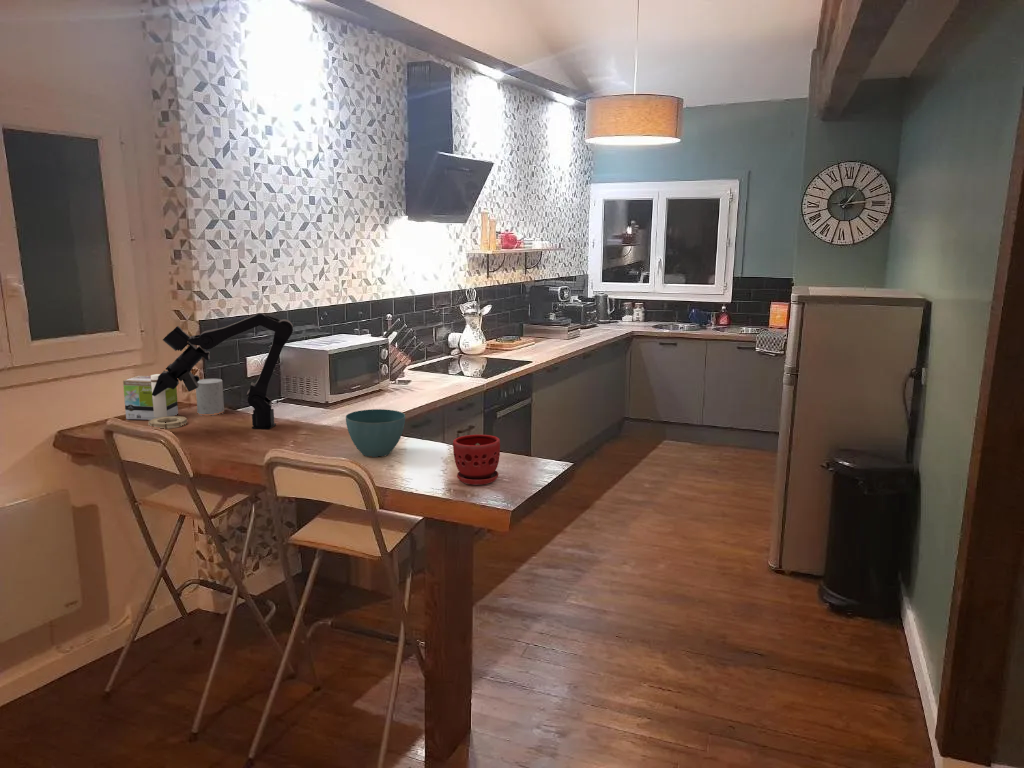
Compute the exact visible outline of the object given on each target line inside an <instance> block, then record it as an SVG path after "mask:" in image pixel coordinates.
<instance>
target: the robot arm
mask: <svg viewBox="0 0 1024 768" xmlns="http://www.w3.org/2000/svg"><path fill="white" fill-rule="evenodd" d="M259 326H260V327H264V328H265V329H268V330H270V331H272V332H274V335H273V341H272V344H271V346H270V349H269V351H268V354H267V356H266V359H265V361H264V364H263V366H262V369H261V372H260V374H259V377H258V379H257V381H255V382H253V381H251V383H250V386H249V389H248V390H247V391H246V392H247V393H246V397H247V403H248V405H249V406H250V407H252V408H253V410H252V414H251V421H252V422H251V425H252V426H251V429H252V430H253V429H255V430H256V429H259V430H260V429H261V430H270V429H272V428H274V427H275V426H277V423H275V413H274V411H275V410H274V408H272V406H273V401H272V399H270V398H269V397H268V396H267V391H268V387H269V383H270V382H271V381H270V380H271V378H272V375H273V374H274V370H275V367H276V365H277V363H278V360H279V357H280V356H281V352H282V350H283V348H284V346H285V345H286V344H287V342H288V341H289V339H290V338H291V336H292V333H293V331H294V327H293V326H294V325H293V324H292V322H291V321H290V320H289V319H285V318H283V319H278V318H277V317H273V316H271V315H267V314H265V313H263V312H257V313H255V314H254V315H252V316H249V317H246V318H244V319H242V320H240V321H236V322H235V323H231V324H229V325H226V326H224V327H220V328H219V327H218V328H213V329H208V330H204V331H203V332H201V333H200V334H197V335H191V336H190V335H188V334H187V332H185V331H184V330H183V329H182V328H181V327H180V326H179V325H177V326H176V327H175V328H173V329H172V330H171V331H170V332H168V333H167V335H166V336H165V337H164V338H163V339H162V341H163V342H164V343H165V344H166V345H167V346H169V347H170V348H171V349H172V350H174V351H175V352H177V351H178V352H179V351H180V352H182V351H183V350H184V351H183V352H182V353H180V355H178V356H177V357H176V358H175V360H174V361H173V362H171V363H169V364H168V365H167V366H166V368H165V370H163V371H162V372H161V373H159V374H160V375H159V376H158V380H157V382H156V385H155V388H154V390H153V393H152V395H153V396H156V395H157V394H159V393H161V392H162V391H164V390H165V389H167V388H171V389H173V390H174V389H175V388H176V387H178V386H179V384H180V382H183V384H184V385H185V387H186V390H187V391H188V392H189V393H190V392H192V391H195V390H196V388H198V387H199V383H198V381H199V380H201V378H200V376H199V375H195V374H193V373H192V370H193V369H194V367H195V366H196V365H198V363H199V362H200V361H201V360H202V359H203V358H204V359H205V360H206V361H209V360H210V359H211V357H210V354H211V353H210V351H209V350H211V349H213V348H215V347H216V346H218V345H220V344H221V343H223V342H225V341H226V340H228V339H229V338H233V337H234V336H237V335H239V334H242V333H244V332H247V331H248V330H249V331H250V330H251V329H254V328H256V327H259ZM187 346H188V347H187ZM186 347H187V348H186ZM205 350H208V351H205Z"/></svg>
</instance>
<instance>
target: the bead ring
mask: <svg viewBox="0 0 1024 768" xmlns="http://www.w3.org/2000/svg"><path fill="white" fill-rule="evenodd" d="M165 422H166V423H165ZM147 423H148V426H149V425H150V426H154V427H160V428H164V429H163V430H166V429H167V430H168V429H175V428H180V427H183V426H185V425H187V424H188V418H186V417H185V416H181V415H180V416H179V415H176V416H170V417H169V416H166V417H159V418H154V419H152V420H148V422H147ZM186 423H187V424H186ZM184 424H185V425H184ZM182 425H183V426H182Z"/></svg>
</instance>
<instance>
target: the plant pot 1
mask: <svg viewBox="0 0 1024 768" xmlns="http://www.w3.org/2000/svg"><path fill="white" fill-rule="evenodd" d="M345 423H346V424H345V425H346V428H347V431H348V432H347V433H348V434H349V437H350V440H351V441H352V442H353V445H354V446H355V447H356V449H357V450H358V451H359V452H360V454H362V455H363V456H364V455H365V456H364V457H368V456H372V457H371V458H379V457H378V456H383V457H386V456H388V455H390V454H391V453H392V451H394V449H395V448H396V446H397V445H398V443H399V442H400V440H401V437H402V434H403V432H404V428H405V423H406V414H405V413H404V412H402V411H398V410H394V409H383V408H382V409H381V408H379V409H377V408H373V409H364V410H363V409H361V410H357V411H352V412H350V413H347V414H346V415H345ZM385 455H386V456H385Z"/></svg>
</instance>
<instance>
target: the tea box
mask: <svg viewBox="0 0 1024 768" xmlns="http://www.w3.org/2000/svg"><path fill="white" fill-rule="evenodd" d="M122 383H123V384H122V386H123V396H124V397H123V398H124V410H125V419H126V420H144V421H145V420H146V421H147V420H148V421H150V420H152V419H154V418H159V417H154V409H153V398H152V386H151V375H150V376H149V375H136V376H134V377H130V378H128V379H125V380H123V381H122ZM177 387H178V386H177ZM177 387H176V388H175V389H174V390H173V389H171V388H167V389H165V395H166V408H167V416H169V417H170V416H175V415H176V416H178V415H179V408H178V407H179V404H178V402H179V401H178V390H177V389H178V388H177ZM177 414H178V415H177ZM165 417H166V416H165Z"/></svg>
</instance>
